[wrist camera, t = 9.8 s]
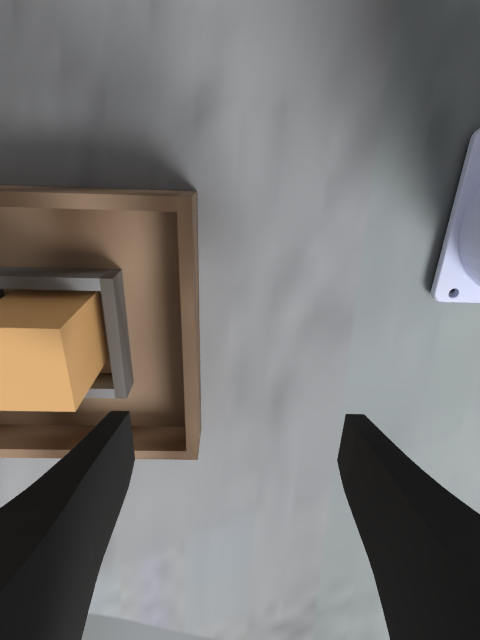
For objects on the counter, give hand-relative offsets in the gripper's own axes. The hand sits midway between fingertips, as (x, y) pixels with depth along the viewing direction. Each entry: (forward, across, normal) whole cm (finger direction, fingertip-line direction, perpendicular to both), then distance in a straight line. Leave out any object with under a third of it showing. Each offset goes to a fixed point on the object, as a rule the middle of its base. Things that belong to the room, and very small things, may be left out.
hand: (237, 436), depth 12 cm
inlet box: (+8, +9, 0) cm, 12 cm away
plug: (+8, +9, 0) cm, 12 cm away
